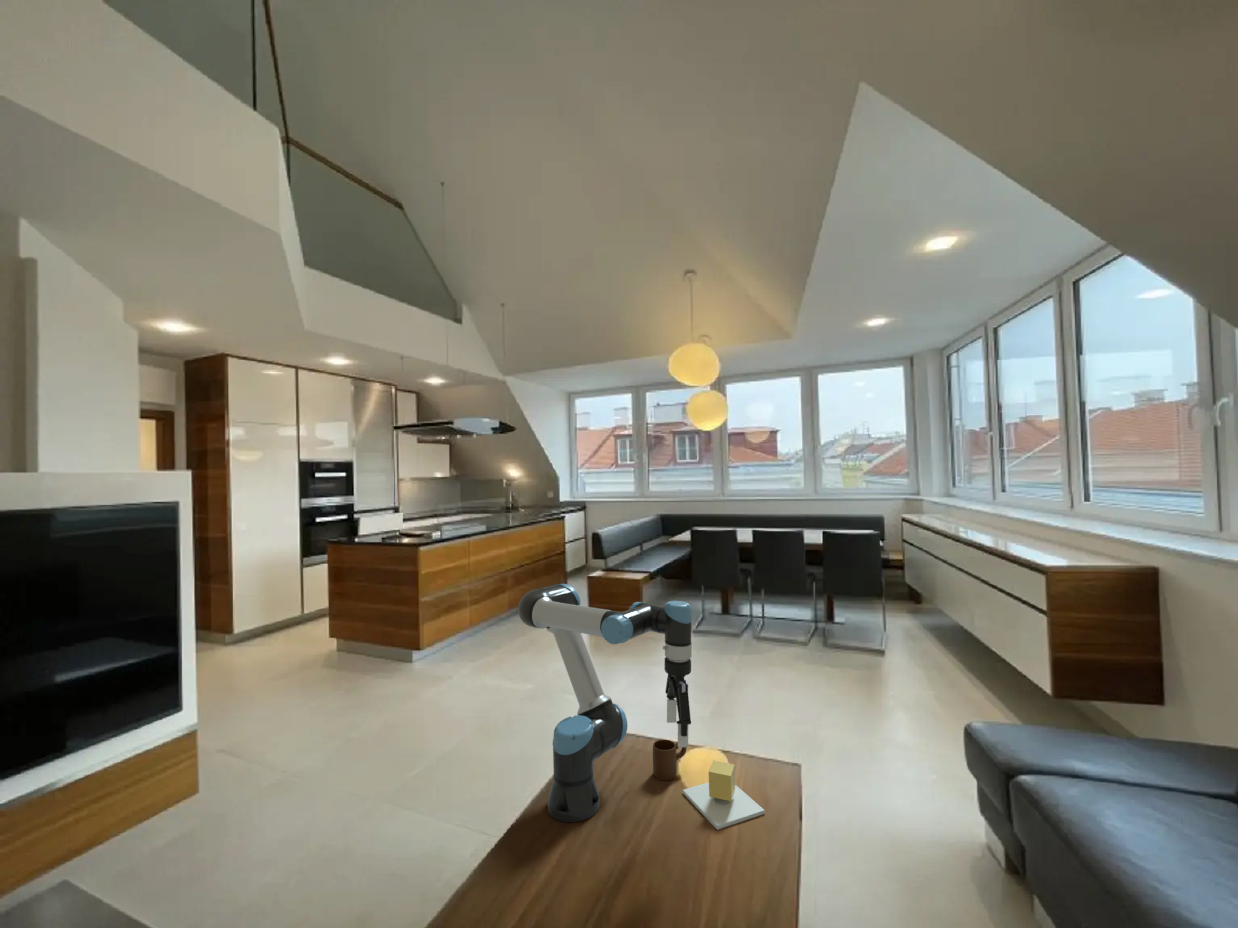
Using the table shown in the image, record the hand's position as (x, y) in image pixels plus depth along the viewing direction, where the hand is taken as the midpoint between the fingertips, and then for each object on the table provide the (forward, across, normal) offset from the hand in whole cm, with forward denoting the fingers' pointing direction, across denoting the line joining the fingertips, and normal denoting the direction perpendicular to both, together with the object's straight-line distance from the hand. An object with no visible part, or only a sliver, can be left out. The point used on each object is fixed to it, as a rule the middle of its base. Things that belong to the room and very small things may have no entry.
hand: (676, 733), depth 141 cm
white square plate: (+23, -4, +15) cm, 27 cm away
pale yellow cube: (+20, -4, +15) cm, 25 cm away
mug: (+24, -22, +3) cm, 32 cm away
